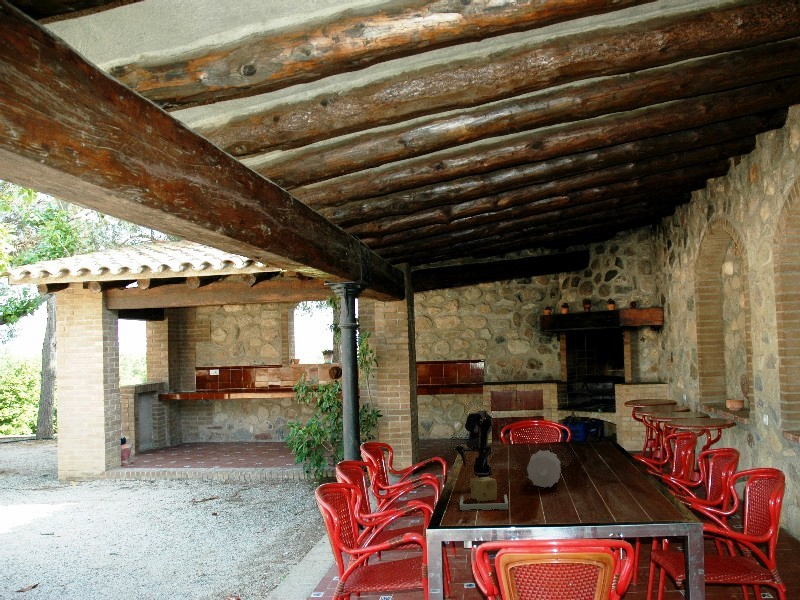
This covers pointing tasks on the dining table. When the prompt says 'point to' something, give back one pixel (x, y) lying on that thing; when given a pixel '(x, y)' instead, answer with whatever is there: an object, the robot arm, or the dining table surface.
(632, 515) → the dining table surface
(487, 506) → the grey u-shaped frame
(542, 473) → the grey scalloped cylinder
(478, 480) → the cheese
